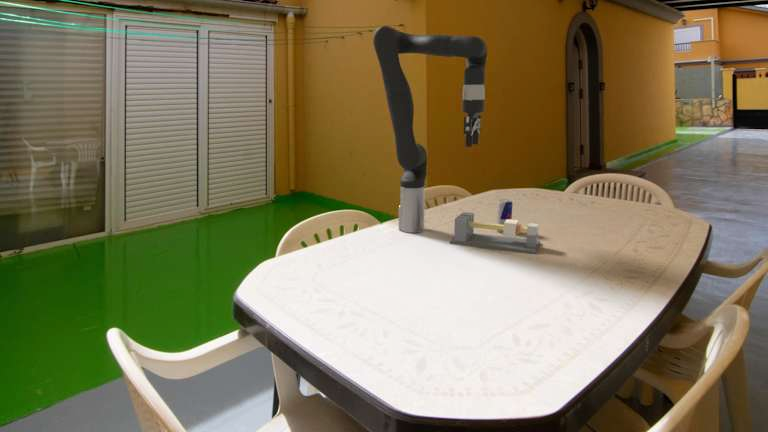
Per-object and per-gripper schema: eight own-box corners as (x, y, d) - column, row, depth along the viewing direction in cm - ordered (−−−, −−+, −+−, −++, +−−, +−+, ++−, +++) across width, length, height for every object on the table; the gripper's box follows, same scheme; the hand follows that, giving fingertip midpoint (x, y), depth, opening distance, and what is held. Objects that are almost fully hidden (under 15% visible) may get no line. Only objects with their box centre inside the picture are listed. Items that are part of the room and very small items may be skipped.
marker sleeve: (503, 236, 156) (503, 222, 154) (506, 232, 160) (506, 219, 159) (515, 238, 154) (516, 223, 153) (517, 234, 158) (518, 220, 157)
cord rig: (454, 240, 161) (454, 218, 159) (462, 232, 170) (463, 211, 168) (534, 250, 149) (535, 226, 147) (538, 240, 159) (540, 218, 157)
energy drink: (511, 233, 171) (513, 202, 168) (496, 233, 172) (498, 202, 169) (510, 229, 176) (512, 199, 173) (496, 229, 177) (497, 199, 174)
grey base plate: (449, 243, 161) (449, 240, 161) (459, 234, 172) (459, 231, 171) (535, 253, 149) (535, 251, 149) (540, 243, 159) (540, 240, 159)
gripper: (468, 98, 166) (467, 143, 170) (457, 98, 154) (455, 147, 158) (488, 98, 163) (487, 143, 167) (479, 98, 151) (477, 148, 155)
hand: (472, 145), depth 163 cm, fingers open, 8 cm apart
